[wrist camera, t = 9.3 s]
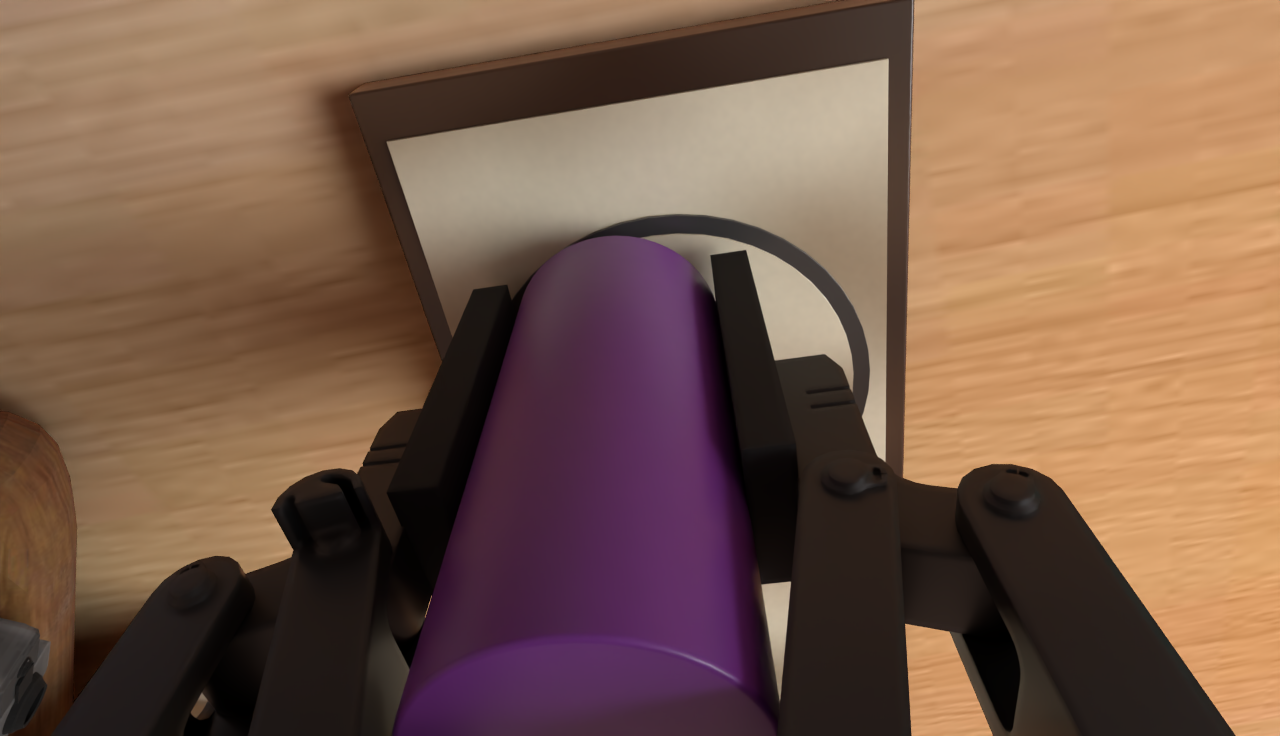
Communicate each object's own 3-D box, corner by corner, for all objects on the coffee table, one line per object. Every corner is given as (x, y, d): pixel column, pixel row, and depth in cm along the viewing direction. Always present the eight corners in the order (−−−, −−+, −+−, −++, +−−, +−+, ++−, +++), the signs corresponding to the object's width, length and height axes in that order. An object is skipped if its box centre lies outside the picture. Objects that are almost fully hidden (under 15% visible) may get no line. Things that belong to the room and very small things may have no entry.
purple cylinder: (501, 239, 17) (327, 661, 8) (704, 208, 16) (773, 616, 7) (547, 405, 19) (454, 878, 10) (726, 381, 19) (798, 854, 10)
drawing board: (362, 82, 16) (342, 97, 15) (900, -11, 15) (919, -2, 14) (588, 747, 29) (586, 780, 28) (889, 721, 28) (898, 755, 27)
